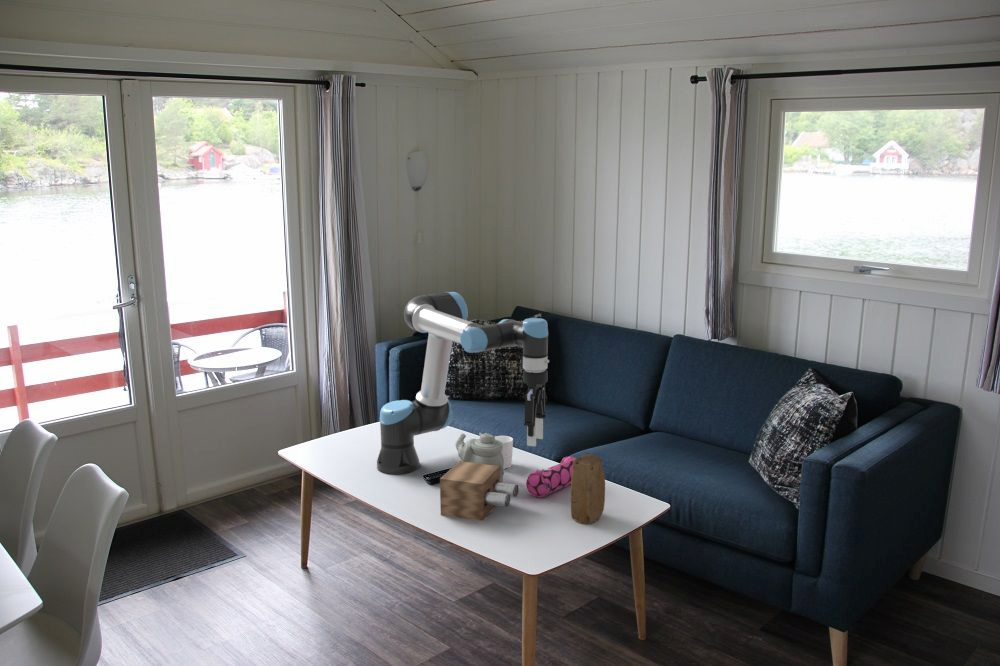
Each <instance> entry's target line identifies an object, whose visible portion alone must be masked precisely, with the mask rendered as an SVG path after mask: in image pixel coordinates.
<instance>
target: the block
mask: <svg viewBox="0 0 1000 666" xmlns="http://www.w3.org/2000/svg"><path fill="white" fill-rule="evenodd" d="M571 477H572V479H571V484H570V514H571V518H572V519H573V520H575V521H576V522H578V523H580V524H593V523H596V522H597V521H598V520H600V517H601V516H602V514H603V512H604V509H605V501H606V500H605V499H606V476H605V471H604V468H603V462H602V457H601V456H599V455H598V454H592V453H584V454H582V455H580V456H578V457H576V459H575V460H574V462H573V471H572V476H571Z"/></svg>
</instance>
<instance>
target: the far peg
mask: <svg viewBox="0 0 1000 666" xmlns="http://www.w3.org/2000/svg"><path fill="white" fill-rule="evenodd" d="M493 492H495V493H503V494H510V498H511V497H512V498H517V497H518V495H519V485H518V484H513V483H506V482H505V483H504V482H503V483H498V482H495V483H494V484H493Z"/></svg>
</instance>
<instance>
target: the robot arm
mask: <svg viewBox="0 0 1000 666" xmlns="http://www.w3.org/2000/svg"><path fill="white" fill-rule="evenodd" d="M468 316H469V310H468V305H467V303H466V301H465V299H464V297H463V296H462V294H460V293H458V292H456V291H444V292H439V293H431V294H423V295H418V296H415V297H413V298H412V299H410V300H409V301H408V303H407V304H406V305H405V308H404V311H403V318H404V321H405V323H406V325H407V326H408V327H409V328H410V329H411V330H413V331H415V332H419V333H421V334H425V333H428V337H427V344H426V349H425V357H424V365H423V366H424V367H423V373H422V380H421V381H422V382H421V388H420V390H419V391H418V392H417V393H416V396H415V401H414V402H412V401H411V400H408V399H401V400H394V401H389V402H387V403H385V404H384V405H383V406H381V409H380V412H379V425H380V444H381V445H380V450H379V452H378V457H377V460H376V469H377V470H378V471H379V472H381V473H385V474H389V475H401V474H407V473H412V472H414V471H416V470H418V468H420V459H419V456H418V453H417V450H416V446H415V442H414V438H415V436H419V435H423V434H426V433H430V432H431V433H432V432H438V431H440V430H442V429H445V428H447V427H448V426H449V425H450V423H451V421H452V419H453V409H452V407H453V405H452V404H451V401H450V400H449V397H448V395H446V393H445V391H446V388H447V387H446V386H447V380H448V373H449V368H450V367H449V366H450V358H451V353H452V346H453V342H454V343H458V344H460V345H461V347H462V348H463V349H464V351H465V352H467V353H469V354H472V353H477V354H478V353H481V352H485V351H491V350H495V349H496V350H497V349H502V348H507V347H508V348H509V347H513V346H514V347H518V348H521V349H522V369H523V371H522V382H523V383H524V384H527V385H528V388H527V391H526V393H524V401H525V402H524V403H525V404H524V423H523V425H524V426H525V427H526V446H527V447H528V446H529V447H535V448H536V446H537V439H539V440H544V439H543V438H544V419H546V418H547V415H546V393H545V392H546V383H548V379H549V378H548V370H547V369H548V364H549V363H550V359H548V357H549V356H548V355H549V353H548V352H549V351H548V348H549V328H548V321H547V320H546V319H544V318H538V317H529V318H525V319H524V320H523V321H522V322H521V321H517V320H515V319H508V318H506V319H505V318H504V319H502V320H500V321H498V322H497V323H493V324H486V325H481V324H477V323H474V322H472V321H469V320H468Z"/></svg>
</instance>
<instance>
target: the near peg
mask: <svg viewBox="0 0 1000 666" xmlns="http://www.w3.org/2000/svg"><path fill="white" fill-rule="evenodd" d="M484 504H490V505H496V506H499V507H506V508H508V507H509V506H510V504H511V496H510V494H503V493H495V492H487V491H486V492H485V493H484Z"/></svg>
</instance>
